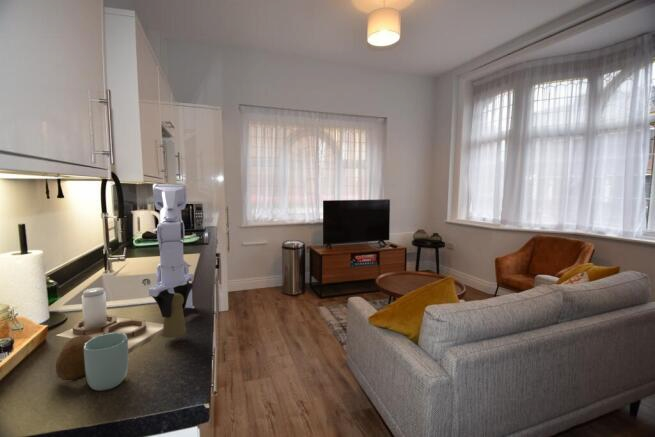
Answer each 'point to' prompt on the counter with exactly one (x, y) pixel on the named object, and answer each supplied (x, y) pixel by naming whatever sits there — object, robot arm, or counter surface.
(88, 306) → the salt shaker
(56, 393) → the counter surface
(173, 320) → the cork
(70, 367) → the potato
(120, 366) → the cup
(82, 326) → the cruet stand
